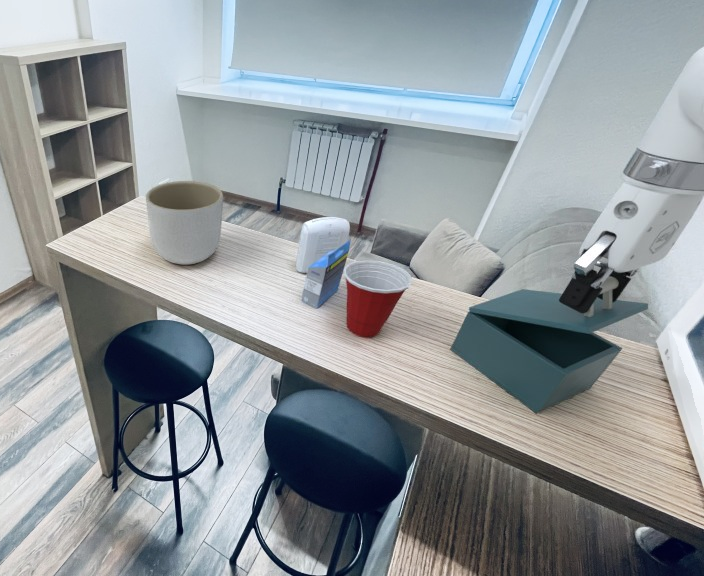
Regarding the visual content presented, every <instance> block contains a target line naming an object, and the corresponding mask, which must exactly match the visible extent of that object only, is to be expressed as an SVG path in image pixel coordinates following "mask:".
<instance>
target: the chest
mask: <svg viewBox="0 0 704 576" xmlns="http://www.w3.org/2000/svg"><path fill="white" fill-rule="evenodd" d="M622 350H623V347H621V346H619V345H617V344H616V343H614V342H612V341H610V340H608V339H606V338H605V337H603V336H601V335H599V334H597V333H595V332H592V333H590V334H587V333H582V332H576V331H571V330H565V329H560V328H554V327H549V326H544V325H538V324H533V323H527V322H522V321H516V320H511V319H505V318H500V317H494V316H489V315H484V314H478V313H473V312H469V311H468V312H467V313H466V316H465V317H464V319H463V322H462V324H461V326H460V328H459V329H458V332H457V334H456V336H455V339H454V341H453V343H452V345H451V347H450V351H452V352H453V353H454V354H456V356H458V357H460V358H461V359H462V360H463V361H465V362H466V363H467V364H469V365H470V366H471V367H473V368H474V369H476V371H478V372H479V373H481V374H482V375H484V376H485V377H486V378H488V379H489V380H491V382H493V383H494V384H496V385H497V386H498V387H500V388H501V389H503V390H504V391H505V392H506V393H508V394H509V395H511V396H512V397H514V398H515V399H516V400H517V401H518V402H520V403H521V404H523V405H524V406H525V407H527V408H528V409H529V410H530V411H533V413H535V414H540V413H541V412H544V411H546V410H548V409H550V408H552V407H555V406H556V405H558V404H560V403H562V402H564V401H567V400H568V399H571V398H573V397H574V396H577V395H579V394H581V393H583V392H585V391H587V390H589V389H591V388H592V387H593V386H594V385H595V384H596V382H597V381H598V380H599V379H600V377H601V376H602V375H603V374H604V373H605V371H606V370H607V369H608V367H609V366H610V365H611V364H612V362H613V361H614V360H615V359H616V358H617V356H618V355H619V354H620V353H621V351H622Z"/></svg>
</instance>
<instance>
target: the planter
mask: <svg viewBox="0 0 704 576" xmlns="http://www.w3.org/2000/svg"><path fill="white" fill-rule="evenodd" d="M145 205H146V213H147V223H148V230H149V236H150V241H151V244H152V248H153V249H154V251H155V252H156V254H157V255H159V256H160V257H161V258H162V259H163V260H166V261H167V262H170V263H171V264H175V265H183V266H186V265H188V266H189V265H194V264H195V265H196V264H199V263H201V262H203V261H205V260H207V259H209V258H210V257H211V256H212V255H213V254H214V253H215V252H216V251H217V249H218V246H219V244H220V242H221V241H220V240H221V233H222V223H223V207H224V193H223V191H222V190H221V188H219V187H217V186H216V185H214V184H211V183H208V182H203V181H196V180H177V181H176V180H175V181H170V182H165V183H161V184H158V185H155V186H154V187H152V188H151V189H149V190H148V191H147V192H146V193H145Z"/></svg>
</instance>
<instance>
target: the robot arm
mask: <svg viewBox="0 0 704 576" xmlns="http://www.w3.org/2000/svg"><path fill="white" fill-rule="evenodd" d="M657 111H658V112H657V113H656V115H654V118H653V120H652V121H651V123H650V125H649V126H648V128H647V130H646V132H645V133H644V135H643V137H642V138H641V140H640V141H639V143H638V145H637V146H636V148H635V149H634V152H633V153H632V155H631V157H630V159H629V160H628V161H627V164H626V165H625V167H624V169H623V171H622V172H621V174H620V175H619V176H620V179H622V181H623V182H622V184H621V185H620V186H619V188H618V189H617V190H616V191H615V193H614V194H613V196H612V197H611V198H610V199H609V202H607V204H606V206H605V207H604V209H602V211H601V213H600V215H599V216H598V217H597V219H596V221H595V222H594V223H593V225H592V226H591V228H590V230H589V231H588V233H587V235H586V237H585V238H584V240H583V242H582V244H581V246H580V248H579V250H578V255H579V258H578V259H577V260H576V261H575V262H574V263H573V266H572V267H573V269H574V272H573V274H572V275H571V279H570V281H569V282H568V284H567V286H566V287H565V289H564V290H563V292H562V293H561V294H562V295H561V297H560V299H559V302H560V303H562V304H564V305H566V306H568V307H570V308H572V309H574V310H576V311H578V312H580V313H586V312H588V310H589V309H590V307H591V306H592V304H593V303H594V301H595V300H596V298H599V299H602V300H603V293H602V294H600V292H601V291H602V289H603V288H601V287H600V286H601V285H602V284H603V282H604V281H605V280H606V279H607V278H608V276H611V277H614V278H616V279H617V280H618V282H619V284H618V287H617V288H615V289H612V303H613V302H615V301H616V300H619V297H620V296H621V294H622V293H623V292H624V291H625V289H626V288H627V286H628V285H629V283H630V282H631V280H632V277H635V275H636V274H637V272H638V271H639V269H640V268H643V267H646V266H649V265H652V264H655V263H657V262H660V261H662V260H664V258H665V257H667V255H668V254H669V253H670V251H671V250H672V249H673V247H674V245H675V244H676V242H677V241H678V239H679V238H680V236H681V235H682V233H683V232H684V231H685V229H686V227H687V226H688V224H689V223H690V221H691V220H692V218H693V216H694V214H695V213H696V211H697V210H698V208H699V206H700V204H701V202H702V201H703V199H704V46H701V47H700V48H699V49H698V50H696V51H695V52H694V53H693V54H692V55H691V57H689V59H688V60H687V62H686V64H685V65H684V67H683V68H682V70H681V72H680V74H679V75H678V77H677V79H676V81H674V84H673V86H672V87H671V89H670V91H669V93H668V94H667V95H666V98H665V99H664V101H663V103H662V105H661V106H660V107H659V110H657ZM602 258H605V259H607V262H604V261H603V260H601V259H602ZM595 266H596V267H599V268H600V269H599V270H598V272H597V270H595Z"/></svg>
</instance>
